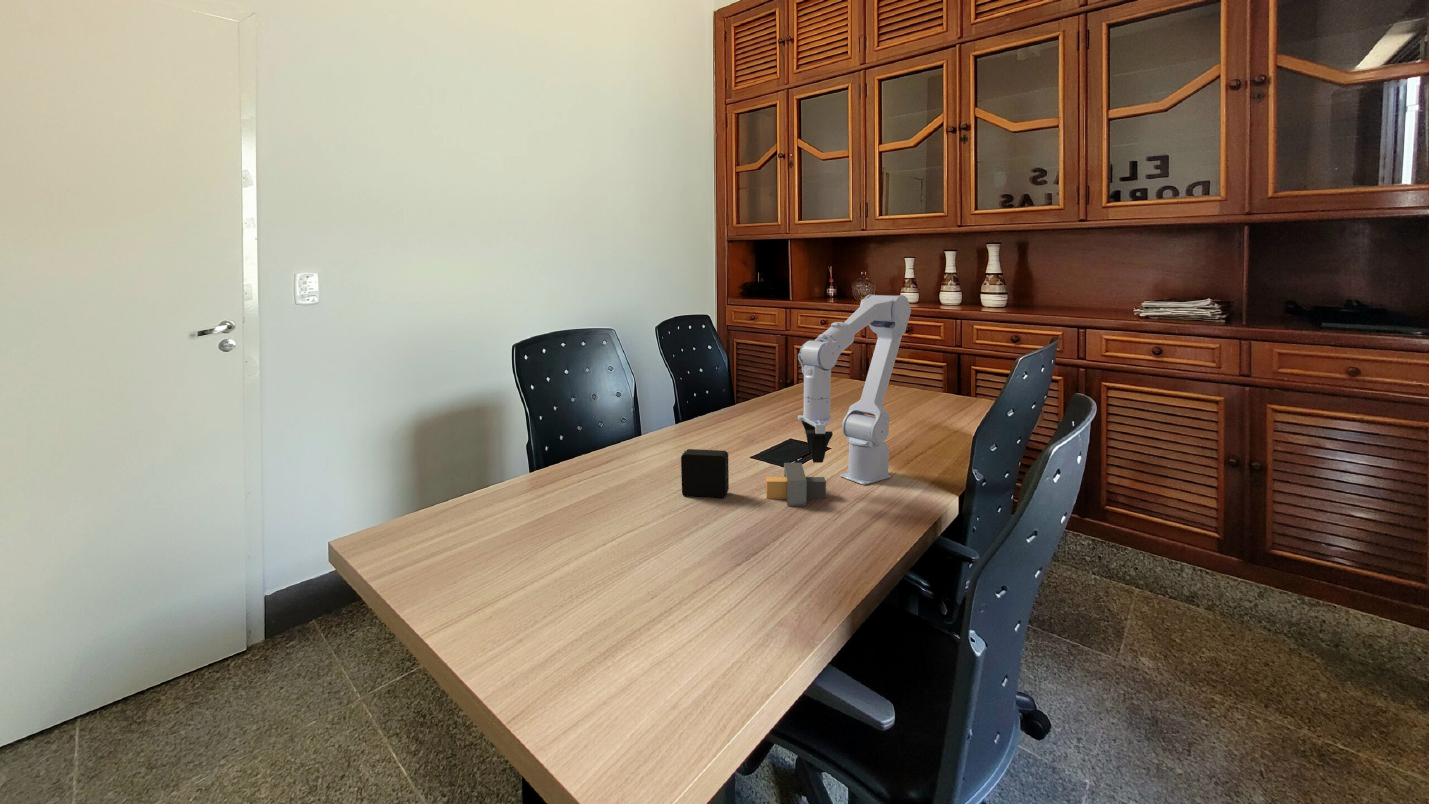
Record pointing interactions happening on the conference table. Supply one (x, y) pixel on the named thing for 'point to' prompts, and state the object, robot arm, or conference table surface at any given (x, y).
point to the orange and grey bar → (778, 485)
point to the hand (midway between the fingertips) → (815, 456)
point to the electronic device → (705, 473)
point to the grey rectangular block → (795, 484)
